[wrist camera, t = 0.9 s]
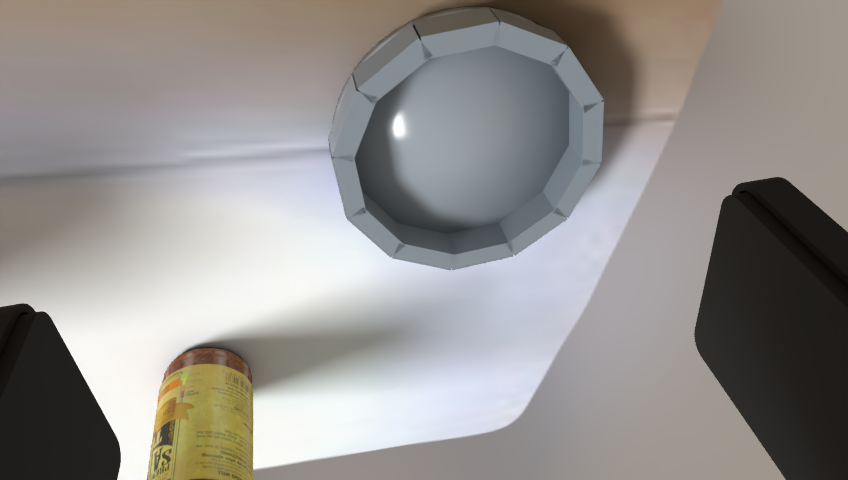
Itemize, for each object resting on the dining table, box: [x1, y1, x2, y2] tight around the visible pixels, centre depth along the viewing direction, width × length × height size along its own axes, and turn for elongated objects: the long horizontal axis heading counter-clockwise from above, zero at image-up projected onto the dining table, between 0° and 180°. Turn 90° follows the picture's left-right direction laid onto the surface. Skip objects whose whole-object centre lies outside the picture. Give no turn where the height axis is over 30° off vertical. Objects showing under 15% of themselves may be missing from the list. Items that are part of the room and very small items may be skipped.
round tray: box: [328, 7, 604, 270], centre depth 40 cm, size 15×15×3 cm
